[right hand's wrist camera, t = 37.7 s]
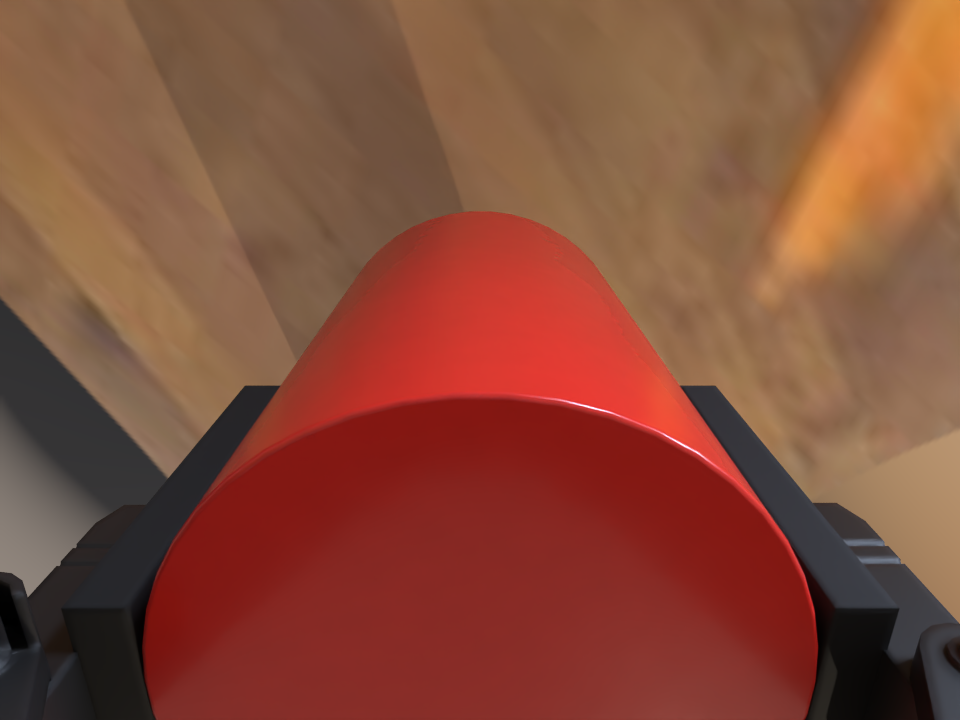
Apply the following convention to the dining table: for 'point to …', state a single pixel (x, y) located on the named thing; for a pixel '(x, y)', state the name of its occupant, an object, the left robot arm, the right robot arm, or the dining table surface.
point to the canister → (480, 518)
